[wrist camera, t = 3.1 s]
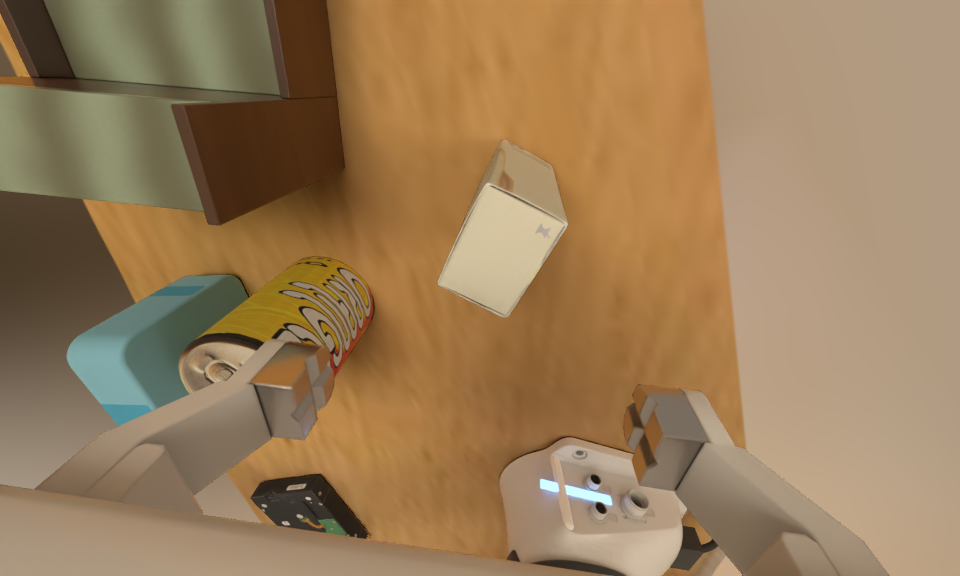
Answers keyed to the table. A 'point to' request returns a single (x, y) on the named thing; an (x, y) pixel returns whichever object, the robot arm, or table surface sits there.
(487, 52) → the table surface
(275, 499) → the disk drive
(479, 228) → the cosmetic box
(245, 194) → the step shelf
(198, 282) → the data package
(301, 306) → the beverage can
